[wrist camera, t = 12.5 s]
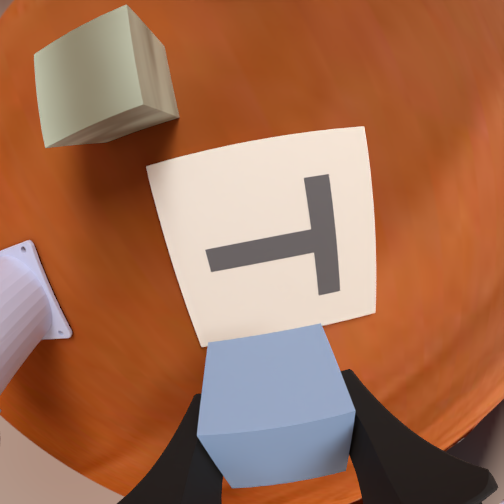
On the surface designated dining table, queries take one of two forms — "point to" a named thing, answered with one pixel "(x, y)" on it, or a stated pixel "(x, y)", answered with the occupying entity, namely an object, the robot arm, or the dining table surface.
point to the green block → (103, 82)
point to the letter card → (271, 232)
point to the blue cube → (275, 408)
